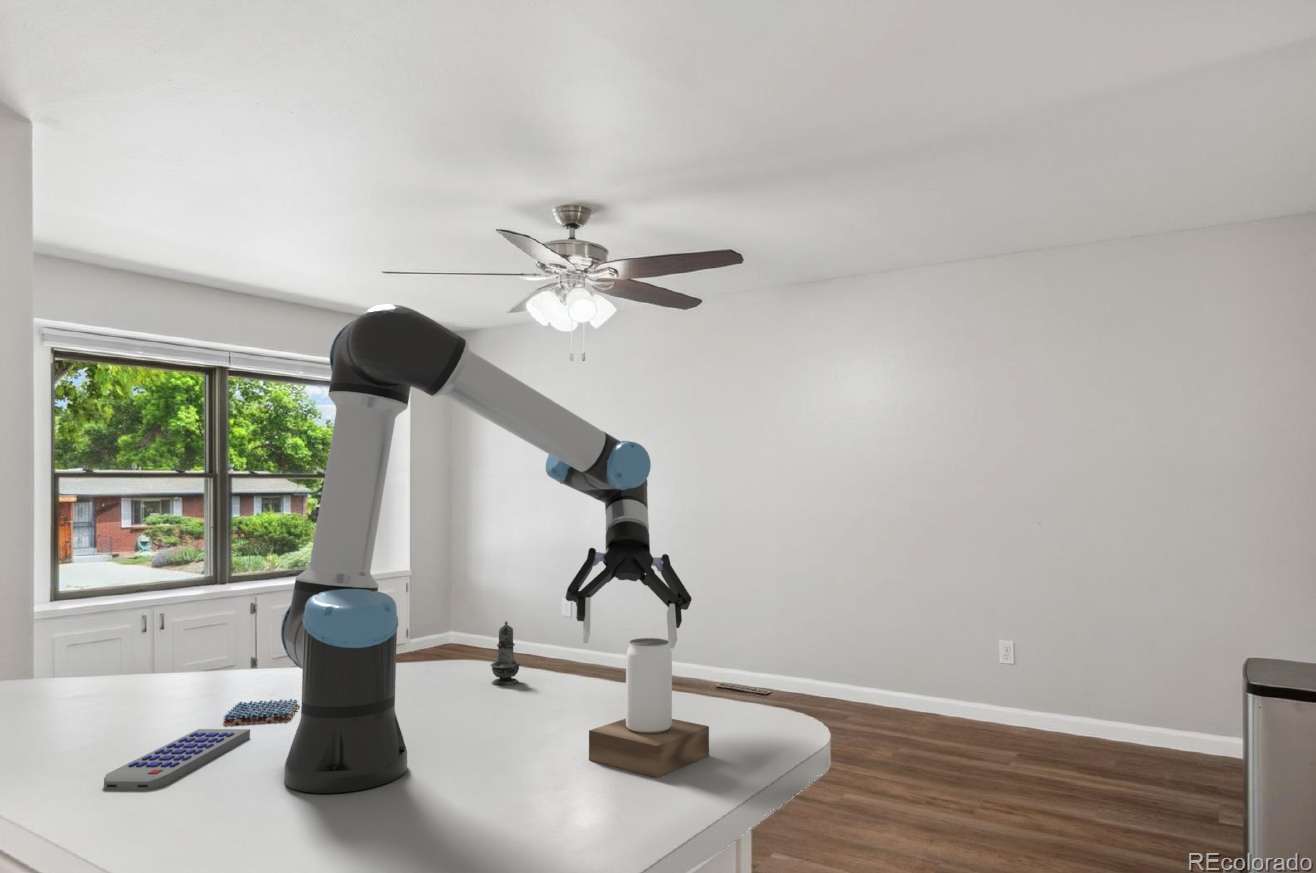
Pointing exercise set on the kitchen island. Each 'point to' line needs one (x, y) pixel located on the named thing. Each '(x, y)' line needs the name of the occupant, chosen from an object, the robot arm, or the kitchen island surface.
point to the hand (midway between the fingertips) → (630, 641)
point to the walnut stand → (649, 747)
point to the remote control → (174, 759)
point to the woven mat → (261, 712)
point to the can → (649, 686)
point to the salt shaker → (505, 659)
